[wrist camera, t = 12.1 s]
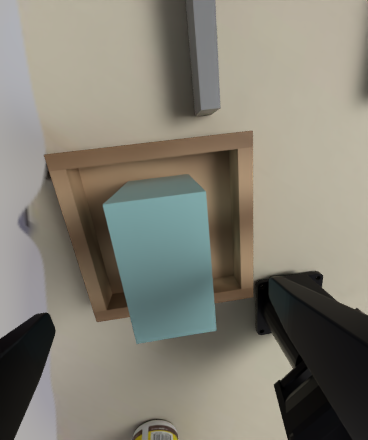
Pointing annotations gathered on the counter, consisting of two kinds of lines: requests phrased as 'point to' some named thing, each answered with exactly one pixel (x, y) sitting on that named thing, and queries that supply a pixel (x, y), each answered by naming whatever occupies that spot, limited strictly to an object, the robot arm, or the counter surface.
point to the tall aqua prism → (163, 256)
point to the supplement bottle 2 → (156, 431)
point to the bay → (203, 55)
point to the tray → (154, 168)
